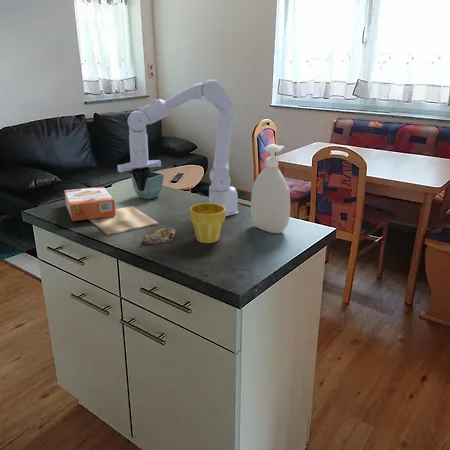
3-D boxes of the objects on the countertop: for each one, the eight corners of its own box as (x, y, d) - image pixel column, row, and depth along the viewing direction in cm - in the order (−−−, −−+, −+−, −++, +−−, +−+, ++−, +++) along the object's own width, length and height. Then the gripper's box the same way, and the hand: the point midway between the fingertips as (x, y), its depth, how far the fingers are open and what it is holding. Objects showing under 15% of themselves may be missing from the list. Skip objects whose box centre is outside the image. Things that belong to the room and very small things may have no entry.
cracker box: (70, 203, 144) (63, 189, 162) (72, 221, 145) (65, 206, 164) (114, 198, 149) (103, 185, 167) (116, 216, 151) (105, 201, 169)
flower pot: (165, 196, 175) (164, 173, 172) (149, 202, 168) (148, 178, 165) (147, 192, 180) (146, 170, 176) (132, 198, 173) (130, 175, 169)
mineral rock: (164, 224, 141) (179, 224, 135) (167, 237, 142) (182, 238, 136) (134, 233, 135) (148, 234, 129) (137, 247, 135) (152, 249, 129)
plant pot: (213, 248, 129) (214, 216, 126) (183, 241, 134) (182, 210, 131) (231, 237, 138) (231, 206, 134) (202, 230, 143) (202, 200, 139)
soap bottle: (296, 231, 142) (303, 145, 133) (281, 238, 137) (286, 149, 127) (260, 220, 152) (263, 138, 142) (244, 226, 146) (247, 142, 137)
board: (132, 207, 162) (131, 206, 162) (158, 224, 147) (158, 222, 147) (85, 216, 153) (84, 215, 153) (107, 235, 138) (107, 233, 137)
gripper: (153, 145, 153) (155, 184, 158) (112, 149, 146) (115, 190, 150) (163, 148, 148) (165, 189, 153) (121, 153, 140) (124, 196, 145)
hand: (141, 190), depth 151 cm, fingers closed
